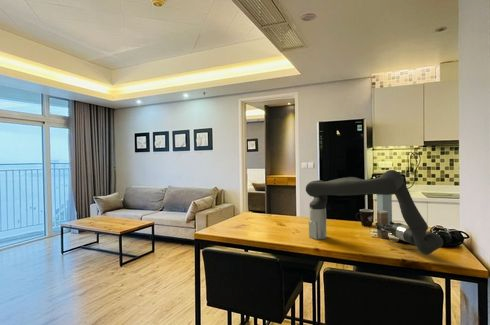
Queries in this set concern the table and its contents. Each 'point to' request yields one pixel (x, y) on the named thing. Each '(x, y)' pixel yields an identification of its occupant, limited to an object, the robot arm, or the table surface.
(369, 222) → the coffee mug
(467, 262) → the table surface
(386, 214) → the rail block
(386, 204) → the post
